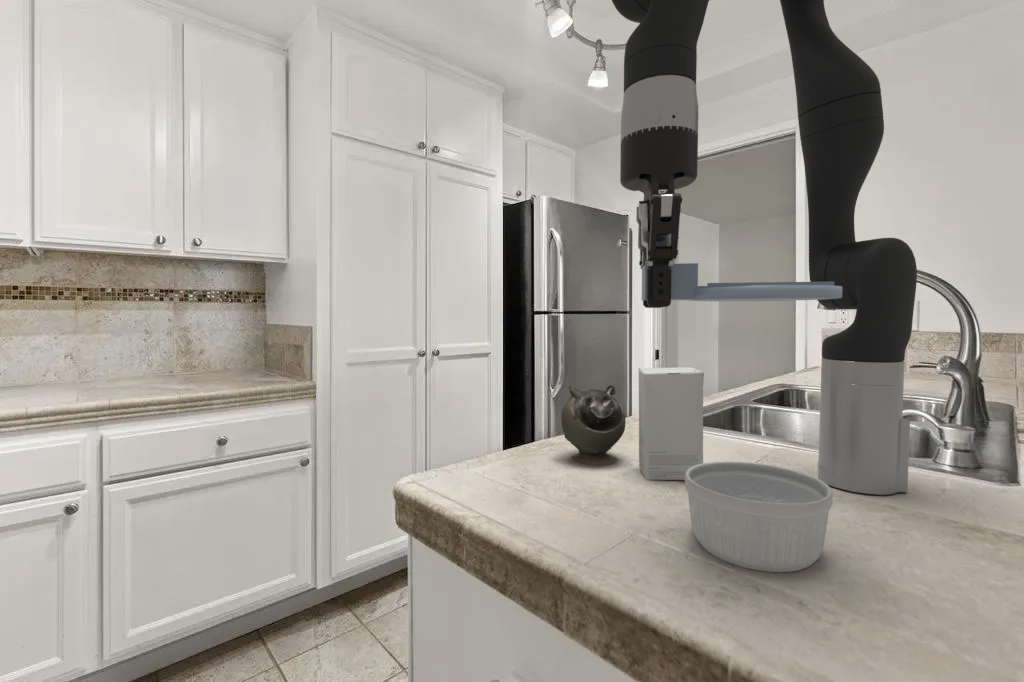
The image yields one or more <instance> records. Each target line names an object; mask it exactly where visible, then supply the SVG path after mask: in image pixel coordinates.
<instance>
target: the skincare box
mask: <svg viewBox="0 0 1024 682" xmlns="http://www.w3.org/2000/svg"><path fill="white" fill-rule="evenodd" d="M704 375H705V373H704V372H703V371H702V370H699V369H697V368H694V367H687V366H686V367H638V456H639V457H638V467H639V469H640V470H641V473H642V474H643V476H644V478H645V480H646V481H685V473H686V471H687V470H688V469H689V468H691V467H693V466H695V465H699V464H702V463H704Z"/></svg>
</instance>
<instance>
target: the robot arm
mask: <svg viewBox="0 0 1024 682" xmlns="http://www.w3.org/2000/svg"><path fill="white" fill-rule="evenodd" d="M824 1H825V0H779V2H780V7H781V11H782V15H783V21H784V25H785V29H786V33H787V39H788V43H789V48H790V55H791V61H792V63H791V64H792V70H793V71H792V72H793V79H794V86H795V96H796V107H797V110H796V111H797V121H798V130H799V137H800V144H801V152H802V158H803V166H804V173H805V174H804V175H805V188H806V195H807V196H806V197H807V198H806V199H807V210H808V211H807V213H808V217H807V218H808V275H809V282H834V286H842V298H838V299H822V300H816V301H817V302H818V303H819V304H820V305H821V306H822V307H824V308H826V309H830V310H845V311H846V310H847V311H848V310H855V316H854V320H853V322H852V324H850V325H849V326H848V327H846V328H845V329H843V330H842V331H840V332H837V333H835V334H831V335H829V336H827V337H824V339H823V341H822V343H821V344H822V345H821V365H820V367H821V369H820V370H821V371H820V397H819V400H820V401H819V404H820V405H819V428H818V429H819V433H818V458H817V459H818V461H817V468H818V469H817V479H819V480H821V481H823V482H824V483H826V484H827V485H828V486H829V487H833V488H837V489H840V490H844V491H848V492H853V493H859V494H867V495H878V496H879V495H881V496H882V495H894V494H897V493H908V490H909V489H908V487H909V485H908V484H909V461H910V438H911V436H910V435H911V422H910V421H909V419H907V418H905V417H903V409H904V388H905V387H904V383H905V382H904V381H905V360H906V359H905V358H906V357H905V356H906V350H907V347H908V344H909V342H910V340H911V335H912V331H913V330H912V329H913V321H914V319H913V318H914V310H915V300H916V291H917V281H918V280H917V279H918V278H917V277H918V269H917V261H916V258H915V255H914V252H913V250H912V249H911V247H910V246H909V244H908V243H906V242H905V240H902V239H900V238H896V237H882V238H881V237H880V238H873V239H866V240H861V241H860V240H859V241H856V234H855V233H856V232H855V214H856V213H855V211H856V205H857V201H858V197H859V194H860V192H861V190H862V187H863V185H864V183H865V180H866V179H867V176H868V174H869V173H870V170H871V169H872V166H873V164H874V162H875V159H876V157H877V155H878V152H879V151H880V150H879V149H880V148H881V144H882V142H883V138H884V133H885V120H884V110H883V99H882V90H881V89H882V88H881V82H880V79H879V78H878V75H877V74H876V73H875V71H874V70H873V68H872V67H871V66H870V65H868V64H867V63H866V61H865V60H863V59H862V58H861V57H860V56H859V55H858V54H857V53H856V52H854V51H853V50H852V49H851V48H849V47H848V45H846V44H845V43H843V42H844V41H843V42H842V41H841V39H840V38H838V36H837V35H836V34H835V32H834V31H833V29H832V28H831V26H830V23H829V19H828V17H827V13H826V8H825V2H824ZM611 2H612V4H613V6H614V8H615V9H616V11H617V12H618V13H619V14H620V15H621V16H622V17H624V19H626V20H628V21H630V22H634V23H637V24H638V26H636V28H635V29H634V30H633V32H632V33H631V34H630V35H629V36H628V39H627V41H626V44H625V48H624V56H623V57H624V59H623V100H622V107H621V114H620V116H621V117H620V163H619V164H620V165H619V166H620V179H619V180H620V181H619V182H620V184H621V187H623V188H624V189H627V190H629V191H632V192H636V191H638V192H641V193H642V195H643V200H639V201H638V206H636V213H635V215H636V217H635V219H636V220H635V221H636V223H637V224H638V229H637V247H638V249H639V259H640V260H639V263H638V265H639V266H640V267H639V268H640V270H642V267H643V266H644V265H645V264H646V265H647V268H652V269H648V274H647V301H642V306H644V308H646V309H654V308H655V309H659V308H667V307H669V306H670V305H671V304H672V300H671V269H668V268H673V265H674V264H676V259H677V256H678V255H679V250H678V245H679V239H680V237H679V235H680V234H679V230H680V220H681V213H682V212H681V211H682V208H681V205H682V203H683V197H682V194H681V192H680V193H679V192H677V193H675V191H676V190H678V189H682V188H686V187H688V186H690V185H692V184H693V183H694V182H695V181H696V180H697V178H698V163H699V160H698V158H699V157H698V155H699V101H698V94H697V70H698V69H697V64H698V62H697V61H698V60H697V59H698V54H697V49H698V47H697V46H698V41H699V37H700V34H701V31H702V27H703V24H704V21H705V16H706V13H707V11H708V10H707V9H708V5H709V2H710V0H611Z"/></svg>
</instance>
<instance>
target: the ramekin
mask: <svg viewBox="0 0 1024 682" xmlns="http://www.w3.org/2000/svg"><path fill="white" fill-rule="evenodd" d="M684 486H685V487H684V488H685V489H686V491H687V494H688V507H689V516H690V523H691V529H692V532H693V535H694V536H695V538H696V539H697V542H699V543H700V545H701V546H702V547H703V548H704V550H706V551H707V552H708V553H709V554H711V555H712V556H714V557H716V558H718V559H720V560H722V561H724V562H726V563H730V564H732V565H734V566H738V567H742V568H744V569H745V568H746V569H749V570H753V571H758V572H759V571H761V572H767V573H769V572H770V573H791V572H792V573H793V572H797V571H801V570H805V569H806V568H808V567H810V566H811V565H812V564H814V563H816V561H817V560H819V558H820V556H821V554H822V553H823V549H824V545H825V539H826V533H827V525H828V520H829V512H830V511H831V509H832V507H833V503H834V502H833V491H832V488H831V486H830V485H828V484H826V483H824V482H823V481H821V480H820V479H819V478H818V477H815V476H813V475H810V474H808V473H805V472H802V471H799V470H795V469H793V468H792V469H791V468H787V467H785V466H784V467H783V466H779V465H773V464H767V463H761V462H760V463H759V462H750V461H733V460H726V461H725V460H724V461H711V462H703V463H702V464H699V465H695V466H693V467H691V468H689V469H688V470H687V471H686V473H685V480H684Z"/></svg>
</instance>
